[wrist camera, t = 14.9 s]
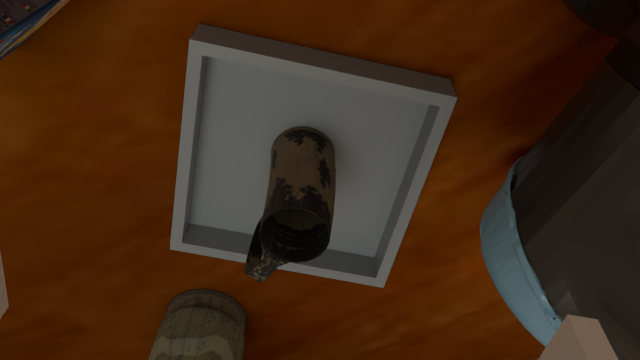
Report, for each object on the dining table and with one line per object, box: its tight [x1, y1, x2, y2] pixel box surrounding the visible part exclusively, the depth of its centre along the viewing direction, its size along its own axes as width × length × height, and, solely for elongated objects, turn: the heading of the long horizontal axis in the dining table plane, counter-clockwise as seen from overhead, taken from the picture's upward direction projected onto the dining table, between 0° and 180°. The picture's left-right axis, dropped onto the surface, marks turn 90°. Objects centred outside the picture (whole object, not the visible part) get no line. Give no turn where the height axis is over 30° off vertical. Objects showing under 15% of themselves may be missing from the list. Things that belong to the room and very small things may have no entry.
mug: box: [244, 126, 336, 283], centre depth 44 cm, size 8×6×12 cm
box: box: [170, 24, 458, 288], centre depth 48 cm, size 20×20×4 cm
